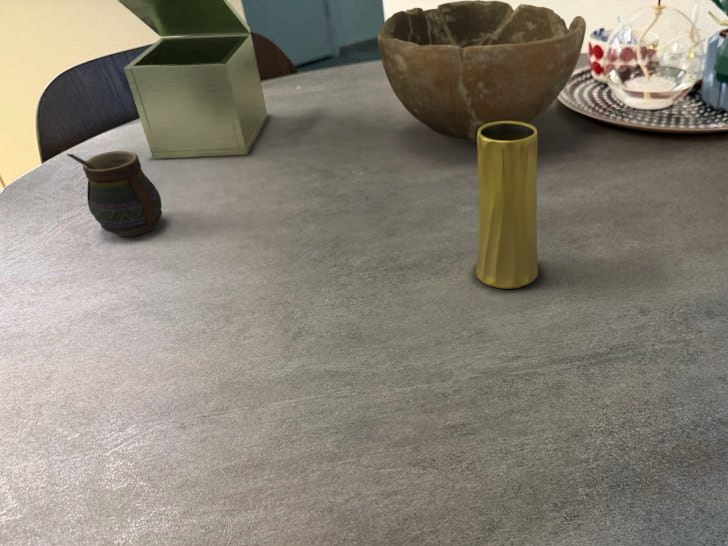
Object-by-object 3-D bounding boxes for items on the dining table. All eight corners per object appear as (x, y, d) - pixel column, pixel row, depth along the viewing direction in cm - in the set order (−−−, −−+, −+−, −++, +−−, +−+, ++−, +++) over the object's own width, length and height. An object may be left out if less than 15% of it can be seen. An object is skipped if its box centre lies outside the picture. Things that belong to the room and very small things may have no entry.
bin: (247, 154, 96) (226, 63, 89) (152, 159, 95) (123, 68, 88) (268, 116, 108) (250, 34, 101) (184, 120, 108) (161, 37, 101)
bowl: (511, 91, 115) (511, -10, 106) (617, 140, 97) (628, 23, 88) (356, 124, 104) (342, 14, 95) (442, 186, 86) (435, 57, 77)
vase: (480, 257, 72) (477, 118, 63) (540, 259, 71) (545, 119, 62) (472, 288, 67) (466, 142, 58) (535, 291, 66) (540, 144, 58)
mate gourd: (182, 219, 80) (156, 134, 74) (132, 249, 75) (99, 159, 69) (136, 209, 83) (106, 125, 77) (83, 237, 77) (47, 149, 71)
